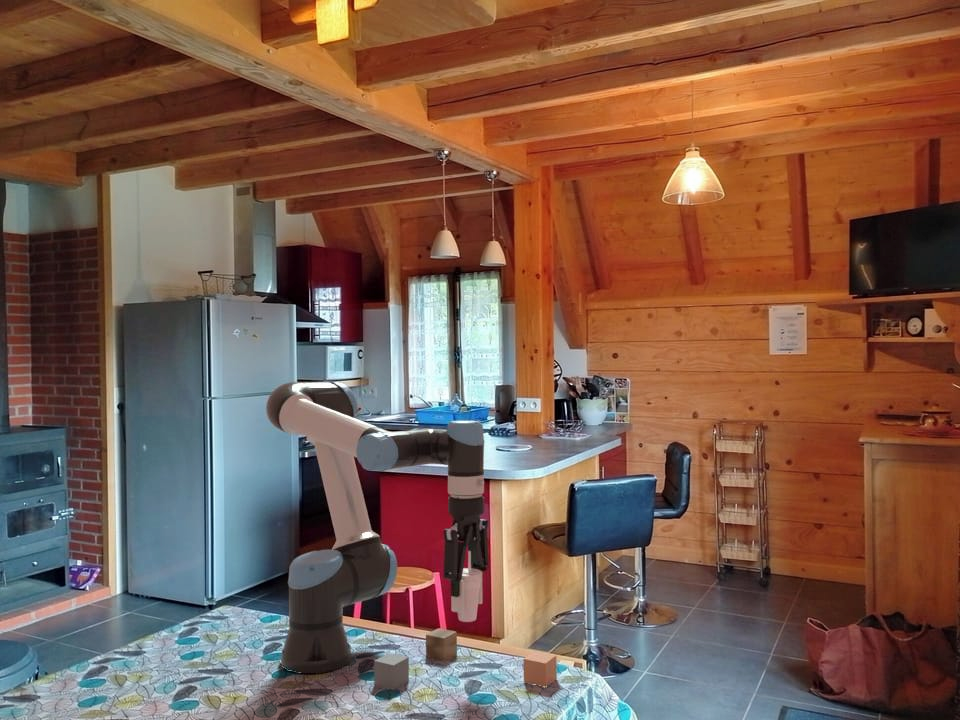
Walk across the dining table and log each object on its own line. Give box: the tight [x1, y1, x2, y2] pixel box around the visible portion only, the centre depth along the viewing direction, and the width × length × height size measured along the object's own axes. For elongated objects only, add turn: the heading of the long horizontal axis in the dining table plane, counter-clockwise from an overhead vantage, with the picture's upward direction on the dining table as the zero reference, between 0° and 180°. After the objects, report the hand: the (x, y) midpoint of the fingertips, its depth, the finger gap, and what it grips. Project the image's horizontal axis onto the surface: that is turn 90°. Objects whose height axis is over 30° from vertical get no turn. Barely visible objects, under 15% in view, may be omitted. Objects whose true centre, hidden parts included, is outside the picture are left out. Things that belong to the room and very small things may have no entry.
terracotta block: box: [523, 650, 558, 687], centre depth 154 cm, size 5×5×5 cm
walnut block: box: [425, 627, 458, 661], centre depth 169 cm, size 5×5×5 cm
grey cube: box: [373, 652, 410, 691], centre depth 154 cm, size 5×5×5 cm
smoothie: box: [457, 550, 483, 623], centre depth 155 cm, size 6×6×14 cm
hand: (467, 606), depth 155 cm, fingers closed on smoothie, 6 cm apart
